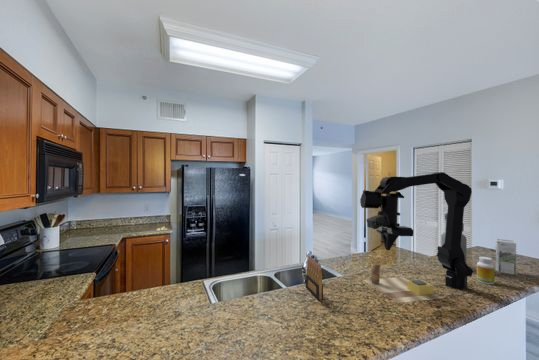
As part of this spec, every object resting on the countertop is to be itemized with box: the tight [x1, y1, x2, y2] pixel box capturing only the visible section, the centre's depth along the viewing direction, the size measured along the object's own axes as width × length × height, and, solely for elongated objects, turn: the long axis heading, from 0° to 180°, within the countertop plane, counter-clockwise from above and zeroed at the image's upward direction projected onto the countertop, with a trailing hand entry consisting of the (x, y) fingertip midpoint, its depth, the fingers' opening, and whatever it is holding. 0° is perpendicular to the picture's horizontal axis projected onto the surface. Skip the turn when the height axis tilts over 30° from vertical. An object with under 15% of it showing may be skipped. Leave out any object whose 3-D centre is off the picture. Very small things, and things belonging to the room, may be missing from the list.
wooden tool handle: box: [370, 262, 381, 284], centre depth 94 cm, size 3×3×7 cm
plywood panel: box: [363, 276, 444, 304], centre depth 90 cm, size 18×19×1 cm
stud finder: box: [407, 279, 434, 295], centre depth 87 cm, size 6×5×4 cm
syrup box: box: [495, 238, 517, 276], centre depth 111 cm, size 6×6×14 cm
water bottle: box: [440, 212, 468, 265], centre depth 118 cm, size 10×10×28 cm
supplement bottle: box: [476, 256, 496, 285], centre depth 99 cm, size 5×5×10 cm
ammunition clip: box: [305, 255, 324, 301], centre depth 87 cm, size 11×2×12 cm, turn 14°
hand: (387, 250), depth 94 cm, fingers closed
